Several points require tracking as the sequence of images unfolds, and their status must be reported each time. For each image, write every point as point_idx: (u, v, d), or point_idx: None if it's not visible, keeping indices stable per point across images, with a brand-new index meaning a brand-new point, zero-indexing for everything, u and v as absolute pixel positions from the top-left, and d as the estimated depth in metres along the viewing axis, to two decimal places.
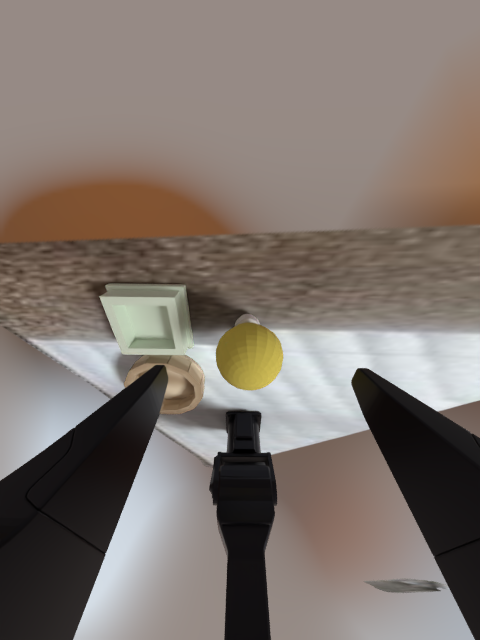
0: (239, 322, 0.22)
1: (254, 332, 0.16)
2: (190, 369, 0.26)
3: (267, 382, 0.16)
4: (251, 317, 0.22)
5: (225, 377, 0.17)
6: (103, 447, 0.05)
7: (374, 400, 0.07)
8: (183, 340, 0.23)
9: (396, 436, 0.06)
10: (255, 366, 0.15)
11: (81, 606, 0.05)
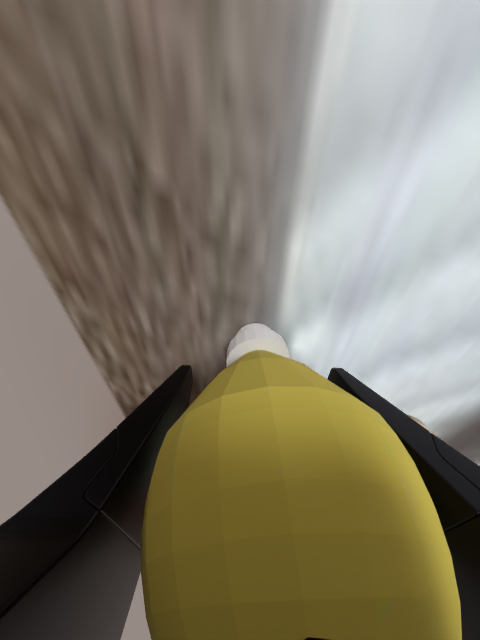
0: None
1: None
2: None
3: None
4: (227, 352, 0.09)
5: None
6: (146, 448, 0.05)
7: None
8: None
9: None
10: None
11: (127, 606, 0.05)
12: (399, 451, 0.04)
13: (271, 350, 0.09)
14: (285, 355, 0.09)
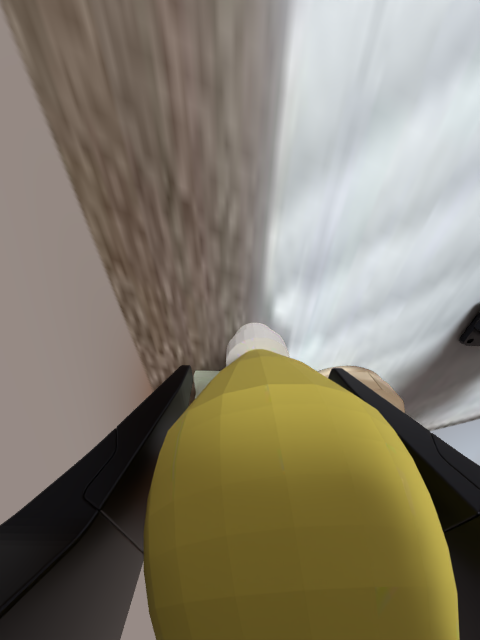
0: None
1: None
2: None
3: None
4: (227, 352, 0.09)
5: None
6: (146, 448, 0.05)
7: None
8: None
9: None
10: None
11: (126, 606, 0.05)
12: (397, 446, 0.04)
13: (270, 349, 0.09)
14: (284, 354, 0.09)
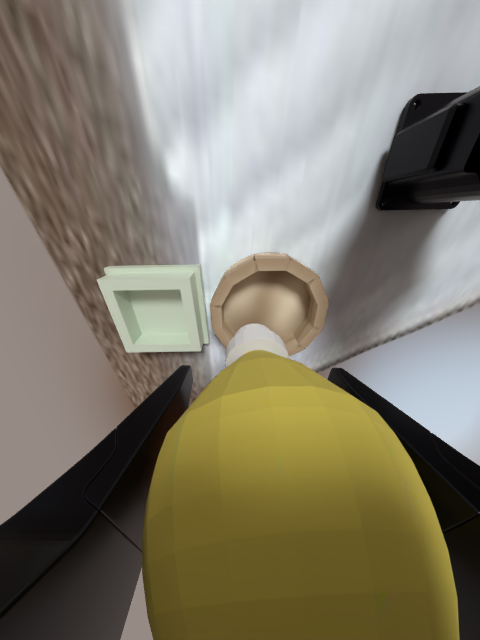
0: None
1: None
2: (228, 272, 0.16)
3: None
4: (226, 352, 0.09)
5: None
6: (146, 448, 0.05)
7: None
8: (169, 276, 0.16)
9: None
10: None
11: (127, 606, 0.05)
12: (397, 449, 0.04)
13: (270, 350, 0.09)
14: (284, 355, 0.09)
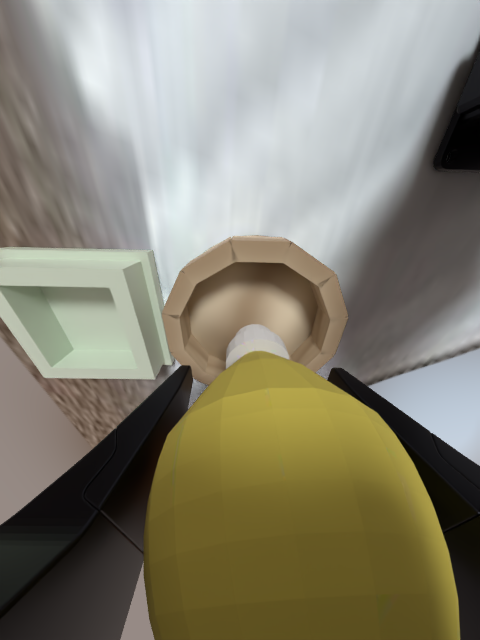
0: None
1: None
2: (190, 262, 0.10)
3: None
4: (227, 353, 0.09)
5: None
6: (146, 448, 0.05)
7: None
8: (93, 265, 0.10)
9: None
10: None
11: (127, 606, 0.05)
12: (398, 450, 0.04)
13: (270, 351, 0.09)
14: (284, 356, 0.09)
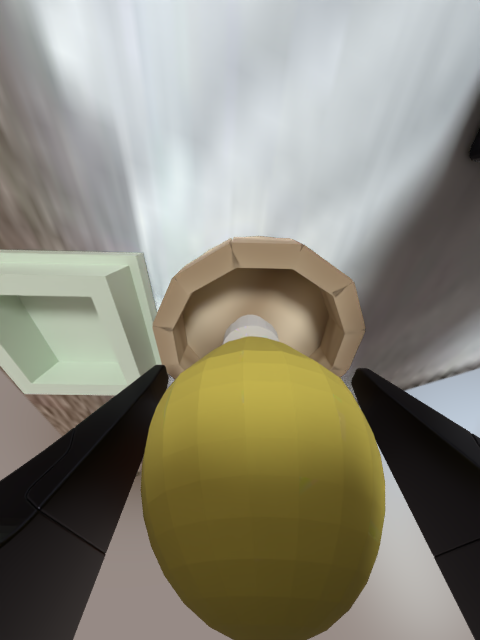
0: None
1: None
2: (184, 268, 0.09)
3: (319, 582, 0.03)
4: (223, 339, 0.10)
5: None
6: (103, 447, 0.05)
7: (374, 400, 0.07)
8: (72, 271, 0.09)
9: (396, 436, 0.06)
10: (190, 607, 0.03)
11: (81, 606, 0.05)
12: (346, 400, 0.04)
13: (262, 337, 0.10)
14: None
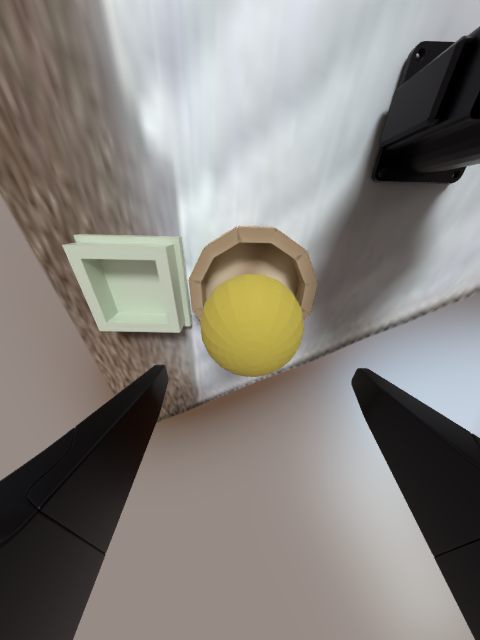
0: None
1: None
2: (209, 243, 0.15)
3: (269, 328, 0.09)
4: None
5: (262, 375, 0.11)
6: (103, 447, 0.05)
7: (374, 400, 0.07)
8: (144, 245, 0.15)
9: (396, 436, 0.06)
10: (228, 349, 0.10)
11: (81, 606, 0.05)
12: (287, 290, 0.11)
13: None
14: None
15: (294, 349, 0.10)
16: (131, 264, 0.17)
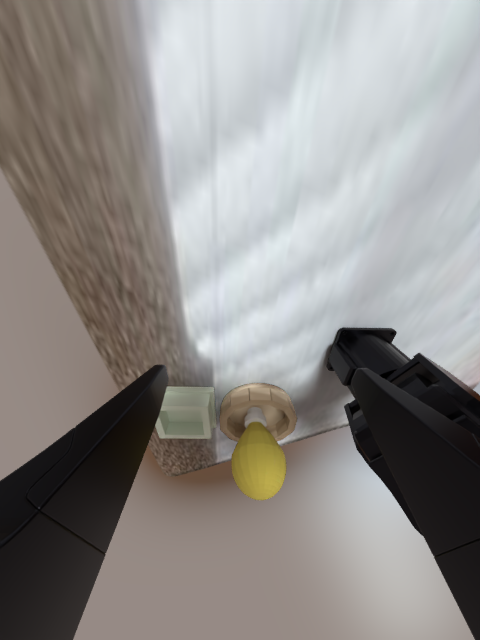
0: None
1: None
2: (232, 401, 0.25)
3: (268, 486, 0.19)
4: (245, 420, 0.27)
5: None
6: (103, 447, 0.05)
7: (374, 400, 0.07)
8: (194, 402, 0.25)
9: (396, 436, 0.06)
10: (248, 493, 0.20)
11: (81, 606, 0.05)
12: (277, 456, 0.21)
13: (259, 421, 0.26)
14: (264, 422, 0.26)
15: (280, 487, 0.21)
16: None
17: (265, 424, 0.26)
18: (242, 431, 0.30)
